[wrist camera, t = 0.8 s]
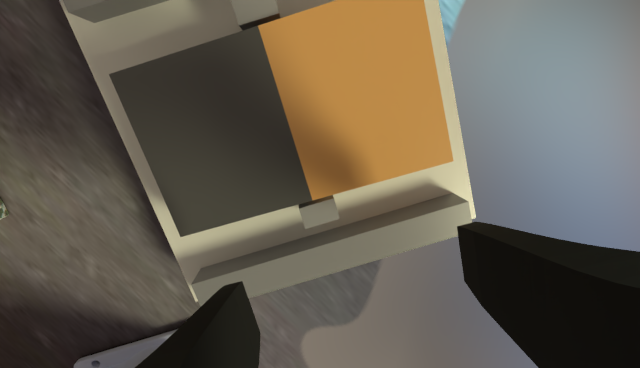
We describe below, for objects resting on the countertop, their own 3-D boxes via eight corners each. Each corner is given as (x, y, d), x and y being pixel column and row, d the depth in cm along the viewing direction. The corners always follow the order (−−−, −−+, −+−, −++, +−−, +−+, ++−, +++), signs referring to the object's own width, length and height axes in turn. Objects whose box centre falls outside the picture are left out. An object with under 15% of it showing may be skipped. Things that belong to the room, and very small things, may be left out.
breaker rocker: (191, 226, 15) (180, 237, 14) (127, 76, 13) (108, 74, 12) (442, 156, 14) (453, 161, 13) (409, -15, 12) (418, -27, 11)
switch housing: (210, 273, 20) (178, 333, 15) (96, 6, 16) (-4, -43, 11) (450, 201, 20) (505, 236, 15) (394, -84, 16) (442, -179, 11)
